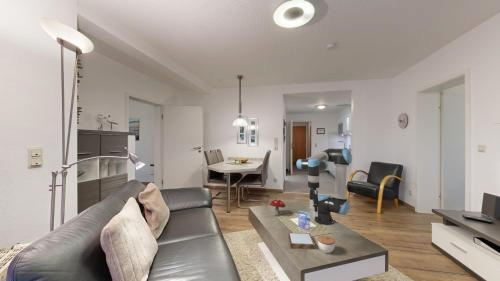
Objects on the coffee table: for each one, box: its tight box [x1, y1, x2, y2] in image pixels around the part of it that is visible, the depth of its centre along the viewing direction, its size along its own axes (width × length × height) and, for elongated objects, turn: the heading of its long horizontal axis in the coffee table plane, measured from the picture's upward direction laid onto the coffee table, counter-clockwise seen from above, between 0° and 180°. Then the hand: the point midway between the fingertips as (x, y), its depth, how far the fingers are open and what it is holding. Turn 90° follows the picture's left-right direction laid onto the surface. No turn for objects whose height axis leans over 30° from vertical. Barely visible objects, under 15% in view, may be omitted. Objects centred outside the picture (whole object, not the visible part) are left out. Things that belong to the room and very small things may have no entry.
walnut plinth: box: [287, 232, 316, 250], centre depth 140 cm, size 16×16×3 cm
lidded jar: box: [317, 234, 336, 254], centre depth 130 cm, size 11×11×9 cm
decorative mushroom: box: [268, 198, 286, 217], centre depth 191 cm, size 16×16×15 cm
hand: (313, 212), depth 136 cm, fingers open, 13 cm apart
